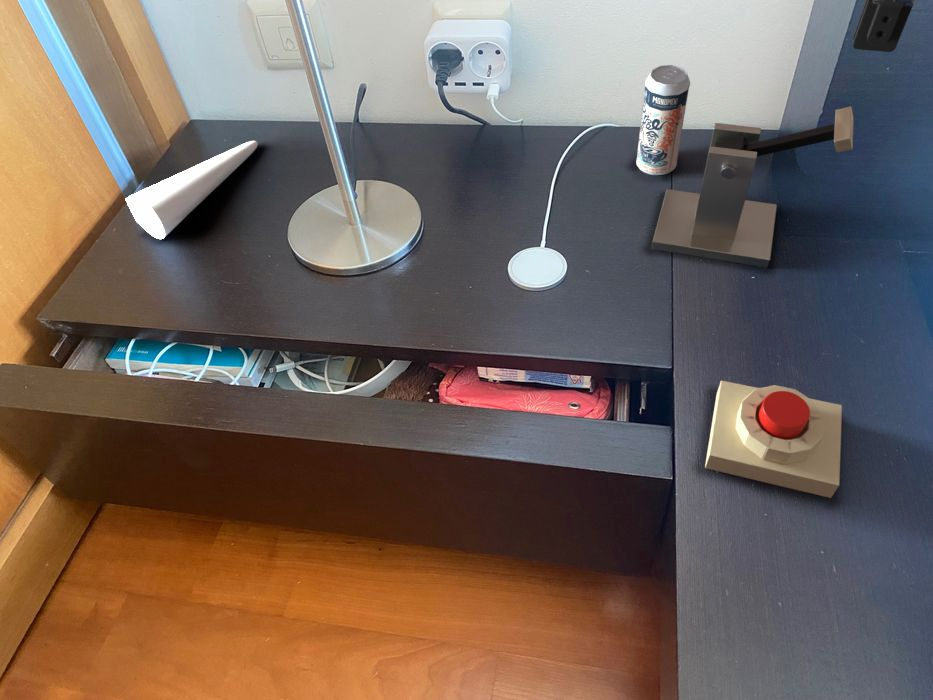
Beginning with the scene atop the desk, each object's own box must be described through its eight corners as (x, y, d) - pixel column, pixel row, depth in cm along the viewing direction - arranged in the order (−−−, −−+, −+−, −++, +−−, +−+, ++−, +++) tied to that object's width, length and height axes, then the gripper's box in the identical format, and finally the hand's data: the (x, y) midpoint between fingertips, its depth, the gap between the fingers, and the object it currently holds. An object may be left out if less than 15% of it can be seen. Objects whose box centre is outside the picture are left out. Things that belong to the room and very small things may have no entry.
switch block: (834, 419, 63) (848, 392, 60) (831, 498, 59) (846, 474, 56) (716, 394, 66) (725, 367, 63) (704, 468, 61) (713, 443, 58)
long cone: (290, 171, 96) (171, 245, 85) (259, 160, 99) (140, 230, 88) (278, 131, 92) (151, 203, 81) (246, 121, 95) (120, 189, 85)
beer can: (628, 170, 87) (638, 79, 78) (647, 149, 89) (659, 58, 80) (664, 183, 85) (678, 91, 76) (683, 161, 87) (699, 69, 78)
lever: (854, 122, 68) (850, 100, 66) (853, 154, 65) (849, 132, 63) (723, 153, 74) (717, 133, 73) (717, 183, 72) (710, 163, 70)
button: (805, 408, 60) (811, 395, 59) (802, 443, 58) (809, 432, 57) (760, 398, 61) (764, 386, 60) (756, 433, 59) (761, 421, 58)
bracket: (774, 212, 80) (803, 120, 71) (767, 268, 75) (797, 176, 66) (665, 197, 84) (679, 106, 74) (651, 249, 78) (665, 159, 69)
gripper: (1063, -190, 40) (926, 101, 55) (1031, -264, 49) (919, 5, 63) (914, -191, 42) (820, 90, 57) (908, -263, 51) (827, -2, 65)
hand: (872, 45), depth 60 cm, fingers closed
